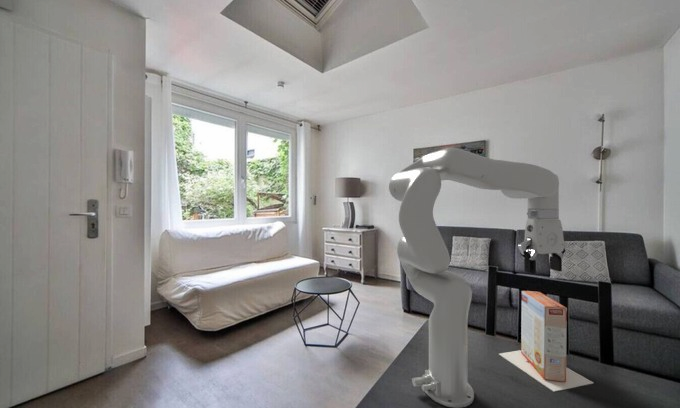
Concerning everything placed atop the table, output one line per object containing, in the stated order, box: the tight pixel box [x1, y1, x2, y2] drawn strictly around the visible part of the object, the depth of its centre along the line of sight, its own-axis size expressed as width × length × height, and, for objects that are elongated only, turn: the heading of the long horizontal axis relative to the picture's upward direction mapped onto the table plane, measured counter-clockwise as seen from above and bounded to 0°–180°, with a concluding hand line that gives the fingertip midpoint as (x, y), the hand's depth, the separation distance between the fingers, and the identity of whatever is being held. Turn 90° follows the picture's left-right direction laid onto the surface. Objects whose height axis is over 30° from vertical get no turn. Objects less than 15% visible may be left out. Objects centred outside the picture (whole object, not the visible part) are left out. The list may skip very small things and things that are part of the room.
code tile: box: [498, 349, 594, 392], centre depth 81 cm, size 14×18×1 cm
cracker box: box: [520, 290, 568, 382], centre depth 81 cm, size 14×6×21 cm, turn 168°
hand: (543, 271), depth 81 cm, fingers open, 9 cm apart
